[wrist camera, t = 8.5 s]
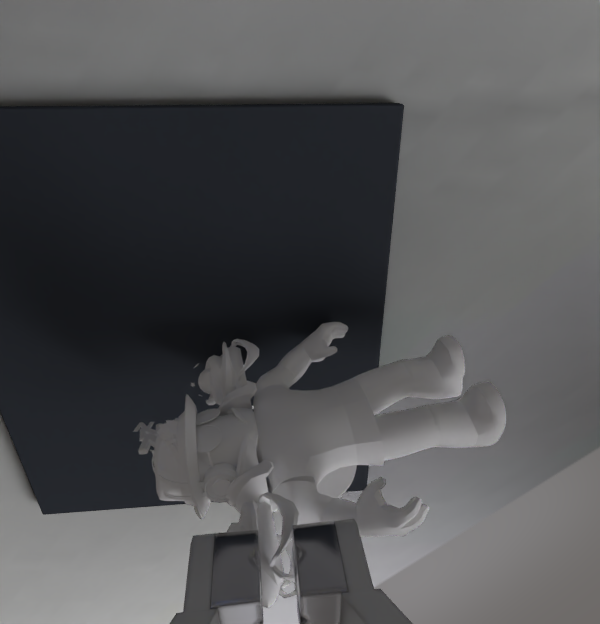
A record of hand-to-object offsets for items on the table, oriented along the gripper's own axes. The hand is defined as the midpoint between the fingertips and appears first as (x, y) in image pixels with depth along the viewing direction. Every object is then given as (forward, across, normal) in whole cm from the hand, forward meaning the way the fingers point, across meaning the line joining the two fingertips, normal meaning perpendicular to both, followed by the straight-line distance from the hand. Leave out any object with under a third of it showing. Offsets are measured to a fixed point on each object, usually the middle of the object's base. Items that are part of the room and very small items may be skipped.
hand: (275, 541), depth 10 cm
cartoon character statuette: (+5, -7, 0) cm, 9 cm away
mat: (+9, +3, 0) cm, 10 cm away
